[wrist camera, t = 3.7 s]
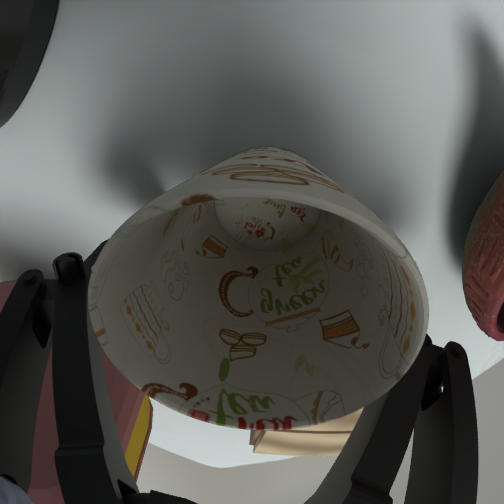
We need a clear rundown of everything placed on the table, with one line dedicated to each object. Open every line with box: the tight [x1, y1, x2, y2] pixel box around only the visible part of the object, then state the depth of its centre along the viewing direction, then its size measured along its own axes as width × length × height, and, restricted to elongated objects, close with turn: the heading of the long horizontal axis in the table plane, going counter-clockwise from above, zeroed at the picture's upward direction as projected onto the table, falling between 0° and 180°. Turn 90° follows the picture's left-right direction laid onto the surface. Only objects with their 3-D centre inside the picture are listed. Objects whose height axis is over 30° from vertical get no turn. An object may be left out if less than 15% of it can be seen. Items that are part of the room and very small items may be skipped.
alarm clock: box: [0, 280, 153, 504], centre depth 14 cm, size 18×11×19 cm, turn 76°
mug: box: [88, 147, 429, 430], centre depth 11 cm, size 8×13×10 cm, turn 166°
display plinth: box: [249, 407, 364, 456], centre depth 23 cm, size 16×11×4 cm
